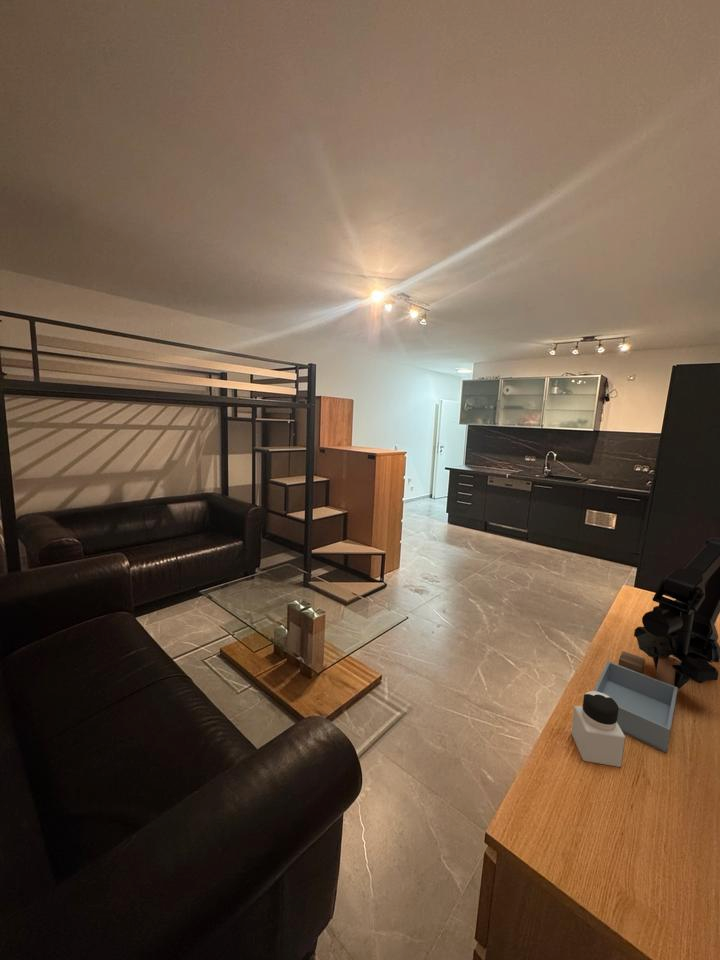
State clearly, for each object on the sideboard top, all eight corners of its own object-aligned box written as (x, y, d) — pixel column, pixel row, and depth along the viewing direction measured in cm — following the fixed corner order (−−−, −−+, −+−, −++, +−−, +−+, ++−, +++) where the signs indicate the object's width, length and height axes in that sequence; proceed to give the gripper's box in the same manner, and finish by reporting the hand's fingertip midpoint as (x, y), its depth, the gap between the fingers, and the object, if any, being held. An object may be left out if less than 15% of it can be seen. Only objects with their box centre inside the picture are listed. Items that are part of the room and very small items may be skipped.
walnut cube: (620, 667, 105) (622, 650, 104) (642, 675, 102) (645, 658, 101) (617, 675, 102) (619, 658, 101) (639, 684, 98) (642, 667, 97)
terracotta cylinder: (662, 677, 101) (665, 653, 100) (684, 689, 96) (688, 665, 95) (650, 682, 99) (654, 658, 98) (672, 695, 94) (676, 670, 93)
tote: (605, 679, 100) (607, 660, 99) (674, 708, 90) (677, 687, 89) (588, 715, 88) (591, 695, 87) (666, 753, 78) (670, 730, 77)
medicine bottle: (622, 768, 75) (629, 714, 73) (582, 761, 76) (588, 709, 74) (606, 738, 82) (612, 689, 80) (570, 733, 83) (576, 684, 81)
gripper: (618, 607, 104) (612, 659, 106) (679, 648, 85) (669, 709, 88) (657, 606, 104) (650, 657, 107) (725, 647, 86) (714, 707, 88)
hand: (667, 680), depth 97 cm, fingers closed on terracotta cylinder, 5 cm apart
